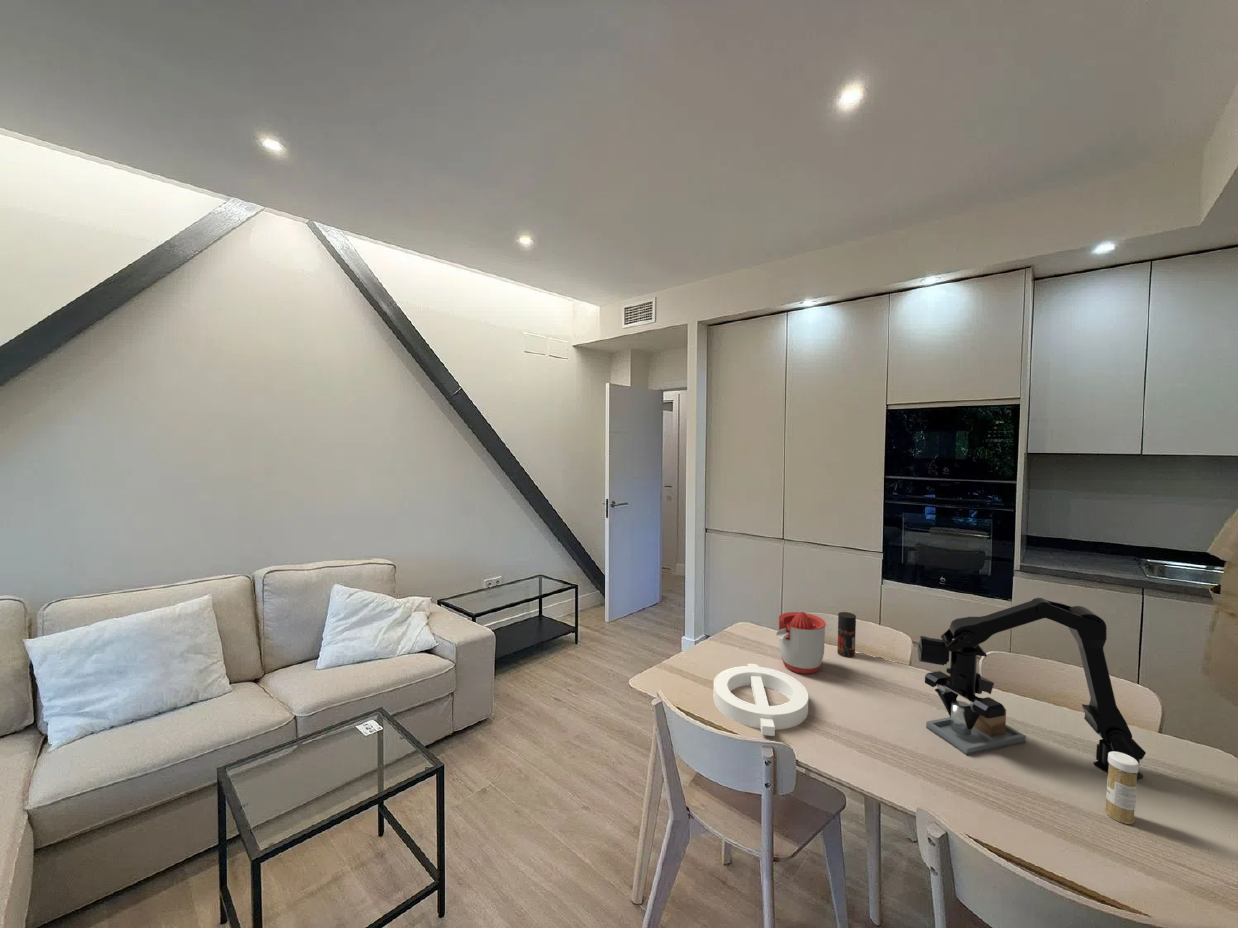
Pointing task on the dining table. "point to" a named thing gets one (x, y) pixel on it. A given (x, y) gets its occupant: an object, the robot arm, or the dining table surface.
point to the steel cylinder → (959, 718)
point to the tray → (974, 737)
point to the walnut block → (991, 725)
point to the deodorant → (846, 634)
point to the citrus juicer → (801, 641)
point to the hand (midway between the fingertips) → (961, 723)
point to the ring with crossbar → (761, 698)
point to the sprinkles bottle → (1121, 787)
